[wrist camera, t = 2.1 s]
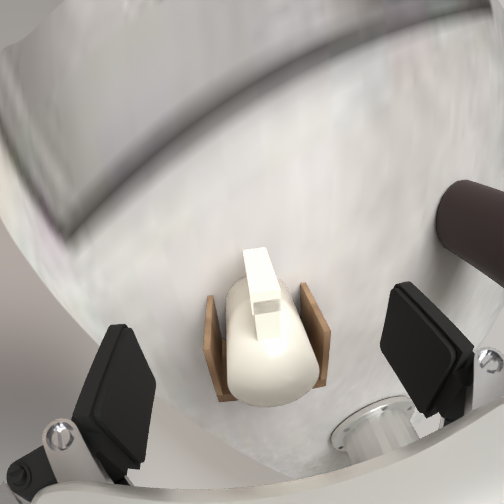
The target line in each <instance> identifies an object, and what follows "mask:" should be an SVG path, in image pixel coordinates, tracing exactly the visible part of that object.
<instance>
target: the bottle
mask: <svg viewBox="0 0 504 504" xmlns="http://www.w3.org/2000/svg"><path fill="white" fill-rule="evenodd" d="M437 232H438V236H439V239H440V241H441V243H442V244H443V246H444V247H445V248H446V249H448V250H449V251H451V252H452V253H454V254H455V255H457V256H459V257H460V258H462V259H463V260H465V261H466V262H468V263H469V264H471V265H472V266H474V267H475V268H476V269H478V270H479V271H481V272H482V273H484V274H485V275H487V276H488V277H489V278H491V279H492V280H494V281H495V282H496V283H498V284H499V285H500V286H502V287H503V288H504V192H503V191H500V190H497V189H494V188H491V187H488V186H485V185H482V184H479V183H476V182H472V181H469V180H461V181H457V182H456V183H454V184H453V185H451V186H450V187H449V189H448V190H447V191H446V193H445V194H444V196H443V198H442V201H441V203H440V206H439V210H438V215H437Z"/></svg>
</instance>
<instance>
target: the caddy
mask: <svg viewBox="0 0 504 504" xmlns="http://www.w3.org/2000/svg"><path fill="white" fill-rule="evenodd" d="M301 322H302V324H303V327H304V329H305V332H306V334H307V337H308V339H309V342H310V344H311V347H312V349H313V352H314V355H315V357H316V360H317V362H318V365H319V377H318V380H317V382H316V384H315V385H314V386H313V388H312V389H314V388H318V387H323V386H326V379H327V370H328V360H329V349H330V337H331V330H330V328H329V326H328V324H327V322H326V320H325V318H324V317H323V315H322V313H321V311H320V309H319V307H318V305H317V303H316V301H315V299H314V297H313V295H312V294H311V292H310V290H309V288H308V286H307V284H306V283H301ZM203 351H204V355H205V358H206V362H207V365H208V368H209V372H210V375H211V378H212V381H213V385H214V388H215V391H216V394H217V397H218V400H219V402H226V401H236V400H238V399H237V398H235V397H234V396H233V395H232V394H231V392H230V390H229V388H228V383H227V350H226V339H222V336H221V332H220V327H219V322H218V317H217V313H216V308H215V303H214V298H213V295H212V296H208V298H207V309H206V320H205V332H204V344H203Z"/></svg>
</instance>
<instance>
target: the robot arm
mask: <svg viewBox="0 0 504 504" xmlns="http://www.w3.org/2000/svg"><path fill="white" fill-rule="evenodd" d="M380 348H381V351H382V353H383V354H384V356H385V357H386V359H387V361H388V362H389V364H390V365H391V367H392V368H393V370H394V372H395V373H396V375H397V376H398V378H399V380H400V381H401V383H402V385H403V386H404V388H405V389H406V391H407V393H408V394H409V396H410V398H411V399H412V401H413V402H412V401H411V399H410V398H408V397H403V396H399V397H392V398H388V399H384V400H381V401H379V402H376V403H374V404H371V405H369V406H367V407H365V408H363V409H361V410H360V411H358V412H356V413H355V414H353V415H352V416H350V417H349V418H347V419H346V420H345V421H344V422H342V423H341V424H340V425H339V426H338V427H337V428H336V430H335V431H334V432H333V434H332V437H331V442H332V445H333V447H334V448H335V449H336V450H338V451H342V452H347V454H348V457H349V460H350V462H351V465H352V466H349V467H346V468H342V469H339V470H335V471H331V472H328V473H324V474H320V475H316V476H311V477H307V478H302V479H297V480H292V481H287V482H281V483H274V484H267V485H260V486H251V487H241V488H228V489H205V490H204V489H203V490H201V489H200V490H191V489H160V488H146V487H136V486H134V485H133V484H132V482H131V481H130V480H129V478H128V477H127V470H128V468H129V469H140V463H142V462H144V460H145V455H146V447H147V439H148V433H149V426H150V419H151V413H152V406H153V401H154V395H155V389H156V381H155V378H154V376H153V374H152V372H151V370H150V368H149V365H148V363H147V361H146V359H145V357H144V355H143V353H142V350H141V348H140V346H139V344H138V341H137V339H136V337H135V334H134V332H133V330H132V329H131V328H128V327H127V325H126V324H117V325H110V326H109V327H108V330H107V332H106V334H105V336H104V338H103V340H102V343H101V345H100V347H99V350H98V352H97V354H96V356H95V359H94V361H93V364H92V366H91V368H90V370H89V373H88V375H87V378H86V380H85V383H84V386H83V388H82V391H81V393H80V396H79V398H78V401H77V404H76V406H75V409H74V412H73V416H72V419H71V420H69V419H65V418H61V419H57V420H54V421H53V422H51V423H50V424H49V425H48V426H47V427H46V428H45V430H44V432H43V437H42V441H43V445H42V446H41V447H39V448H37V449H36V450H34V451H32V452H31V453H29V454H27V455H25V456H24V457H22V458H20V459H19V460H17V461H15V462H14V463H12V464H11V465H10V467H9V468H8V471H7V483H5V482H3V483H2V484H1V485H0V504H504V355H503V354H502V353H501V352H500V351H498V350H496V349H495V348H491V347H483V348H480V349H478V350H477V351H476V353H475V354H474V352H473V351H472V350H473V348H474V345H473V344H472V343H471V342H470V341H469V340H468V339H467V338H466V337H465V336H464V335H463V333H462V332H461V331H460V330H459V329H458V328H457V327H456V326H455V325H454V324H453V323H452V322H451V321H450V320H449V319H448V318H447V317H446V316H445V315H444V314H443V313H442V312H441V311H440V310H439V309H438V308H437V307H436V306H435V305H434V304H433V303H432V302H431V301H430V300H429V299H428V298H427V297H426V296H425V295H424V294H423V293H422V292H421V291H420V290H419V289H418V288H417V287H416V286H414V285H413V284H412V283H411V282H409V281H408V282H403V283H399V284H396V285H395V286H394V288H393V289H392V290H391V292H390V297H389V303H388V308H387V313H386V318H385V323H384V328H383V332H382V337H381V341H380ZM413 403H414V404H415V406H416V408H417V410H418V411H419V412H420V413H423V414H424V415H425V417H426V418H428V417H430V416H432V415H434V414H436V413H438V412H439V413H440V415H441V419H440V424H439V428H438V430H437V431H435V432H433V433H431V434H429V435H427V436H425V437H423V438H421V439H420V438H419V436H418V435H417V433H416V431H415V429H414V427H413V425H412V424H411V422H410V418H411V417H412V415H413V413H414V409H415V406H414V404H413Z"/></svg>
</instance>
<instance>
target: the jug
mask: <svg viewBox="0 0 504 504" xmlns="http://www.w3.org/2000/svg"><path fill="white" fill-rule="evenodd" d="M243 255H244V263H245V271H246V277H244V278H242V279H240V280H238V281H237V282H236V283H235V284H234V285H233V286H232V287H231V288H230V290H229V292H228V294H227V297H226V350H227V383H228V388H229V390H230V392H231V394H232V395H233V396H234V397H235V398H237V399H238V400H240V401H241V402H243V403H246V404H249V405H252V406H258V407H274V406H280V405H284V404H288V403H290V402H293V401H295V400H297V399H299V398H301V397H302V396H304V395H305V394H306V393H308V392H309V391H310V390H311V389H312V388H313V386H314V385H315V384H316V382H317V380H318V377H319V365H318V362H317V360H316V357H315V355H314V352H313V349H312V347H311V344H310V342H309V339H308V337H307V334H306V332H305V329H304V327H303V324H302V322H301V319H300V317H299V314H298V312H297V309H296V307H295V304H294V302H293V299H292V297H291V294H290V292H289V289H288V287H287V286H286V285H285V283H284V282H283V281H281V280H280V279H278V278H277V277H276V275H275V272H274V269H273V267H272V264H271V261H270V258H269V256H268V253H267V250H266V247H264V248H256V249H248V250H243Z"/></svg>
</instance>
